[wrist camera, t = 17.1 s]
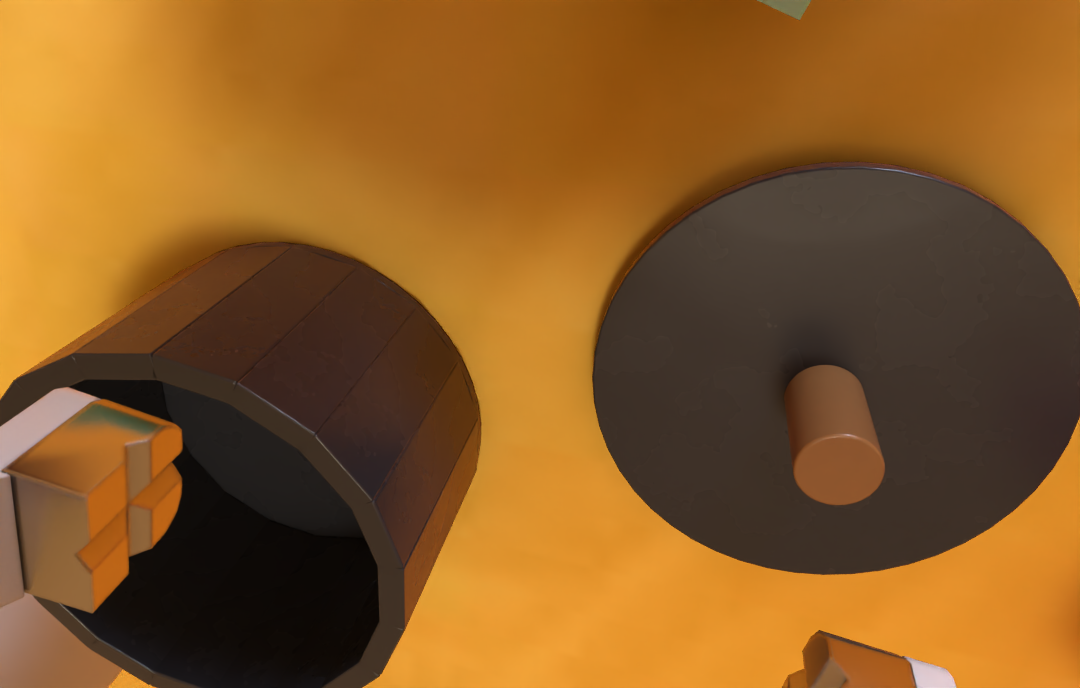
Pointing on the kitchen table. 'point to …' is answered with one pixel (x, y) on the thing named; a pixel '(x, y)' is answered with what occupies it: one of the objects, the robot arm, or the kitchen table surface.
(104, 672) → the lumpy-topped squat cylinder
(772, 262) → the pot lid
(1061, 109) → the kitchen table surface
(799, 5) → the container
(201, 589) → the pot
